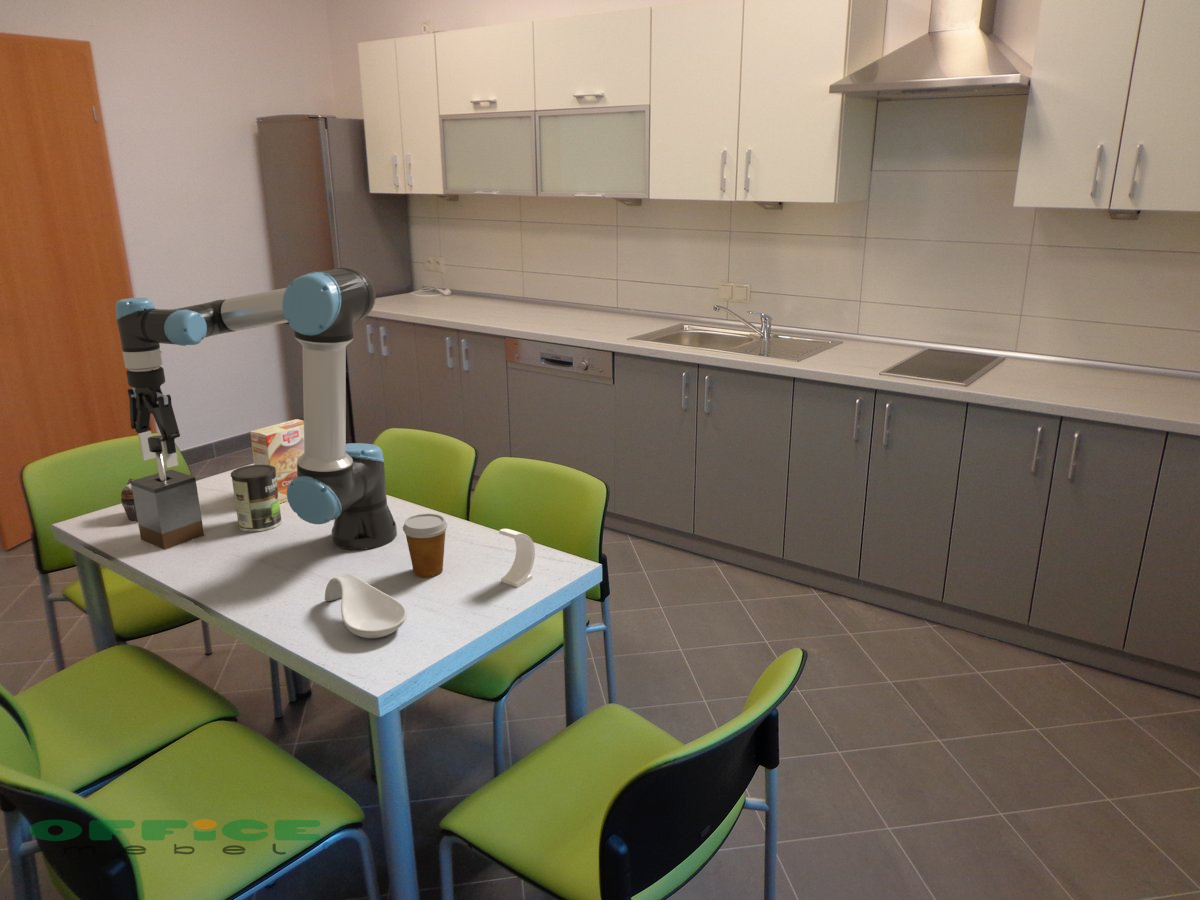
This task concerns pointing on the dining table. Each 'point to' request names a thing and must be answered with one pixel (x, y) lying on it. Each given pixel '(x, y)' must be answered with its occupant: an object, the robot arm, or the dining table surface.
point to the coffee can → (256, 497)
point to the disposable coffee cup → (426, 543)
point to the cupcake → (129, 502)
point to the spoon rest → (365, 607)
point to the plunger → (158, 455)
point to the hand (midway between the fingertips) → (160, 462)
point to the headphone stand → (520, 558)
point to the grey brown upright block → (167, 509)
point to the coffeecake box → (279, 451)
